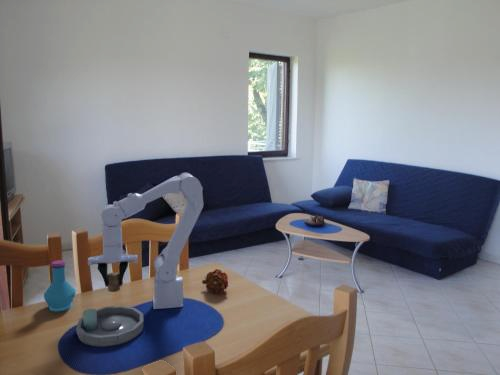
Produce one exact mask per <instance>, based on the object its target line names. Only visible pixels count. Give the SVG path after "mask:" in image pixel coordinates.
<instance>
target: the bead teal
mask: <svg viewBox="0 0 500 375" xmlns="http://www.w3.org/2000/svg"><path fill="white" fill-rule="evenodd" d="M82 317H83V323H84V330H85V331H93V330H95V329H97V309H94V308H87V309H85V310H83V312H82Z"/></svg>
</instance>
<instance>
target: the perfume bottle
mask: <svg viewBox="0 0 500 375" xmlns="http://www.w3.org/2000/svg"><path fill="white" fill-rule="evenodd" d="M66 264H67V262H66V261H65V260H62V259H59V260H58V259H57V260H54V261H52V262H51V263H50V265H49V266H50V267H51V270H52V282H51V283H50V285H49V286H48V288H46V291H45V292H44V293H43V299H44V301H45V302H46V304H47V306H48V308H49V310H50V311H51V312H62V311H66V310H68V309H70V308H71V307H72V306H73V304H72V303H73V302H74V298H75V295H76V289H75V287H74V286H73V285H71V284H70V283H69V282H68V280H66V268H65V267H66Z"/></svg>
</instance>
